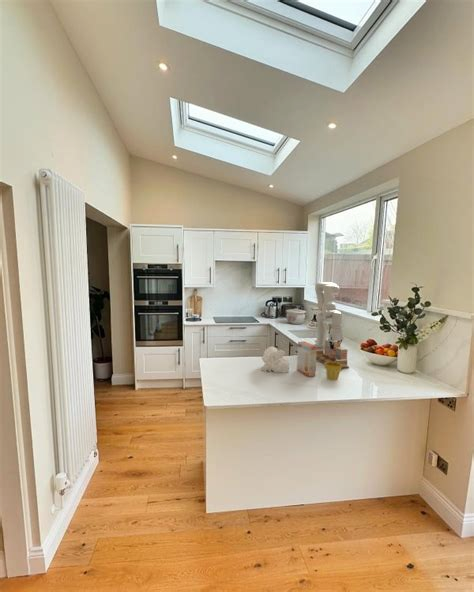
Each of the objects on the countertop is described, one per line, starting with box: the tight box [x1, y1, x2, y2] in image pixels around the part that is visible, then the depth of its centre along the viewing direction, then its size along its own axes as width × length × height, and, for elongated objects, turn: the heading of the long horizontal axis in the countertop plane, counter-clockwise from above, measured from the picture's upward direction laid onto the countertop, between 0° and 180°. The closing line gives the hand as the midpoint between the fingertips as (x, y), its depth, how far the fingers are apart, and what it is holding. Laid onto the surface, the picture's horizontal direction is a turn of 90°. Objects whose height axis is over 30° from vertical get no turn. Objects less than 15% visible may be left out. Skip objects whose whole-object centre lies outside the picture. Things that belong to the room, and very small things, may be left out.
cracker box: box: [296, 340, 318, 378], centre depth 202 cm, size 14×6×21 cm, turn 23°
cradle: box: [316, 349, 350, 370], centre depth 227 cm, size 30×12×6 cm, turn 23°
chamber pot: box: [285, 307, 307, 325], centre depth 390 cm, size 28×27×21 cm
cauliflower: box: [260, 346, 290, 374], centre depth 207 cm, size 19×20×20 cm
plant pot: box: [324, 362, 342, 381], centre depth 194 cm, size 10×10×10 cm
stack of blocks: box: [323, 339, 348, 361], centre depth 242 cm, size 21×6×12 cm, turn 19°
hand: (335, 348), depth 243 cm, fingers closed on stack of blocks, 6 cm apart
